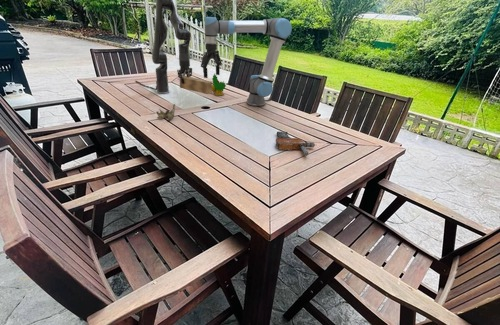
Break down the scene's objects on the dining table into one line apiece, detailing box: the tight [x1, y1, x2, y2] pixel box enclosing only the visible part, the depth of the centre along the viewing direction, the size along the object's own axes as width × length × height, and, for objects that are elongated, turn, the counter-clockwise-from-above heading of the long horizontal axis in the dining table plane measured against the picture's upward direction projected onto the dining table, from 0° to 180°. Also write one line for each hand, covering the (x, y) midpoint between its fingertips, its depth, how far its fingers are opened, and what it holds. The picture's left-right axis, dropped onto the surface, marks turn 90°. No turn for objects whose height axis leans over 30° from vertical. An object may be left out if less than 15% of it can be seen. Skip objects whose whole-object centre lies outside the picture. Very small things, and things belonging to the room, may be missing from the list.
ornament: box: [211, 72, 227, 96], centre depth 234 cm, size 21×8×15 cm, turn 42°
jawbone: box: [156, 103, 176, 122], centre depth 174 cm, size 9×15×10 cm
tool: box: [275, 131, 316, 157], centre depth 149 cm, size 4×27×30 cm
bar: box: [178, 75, 213, 95], centre depth 195 cm, size 26×6×8 cm, turn 60°
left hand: (185, 82), depth 199 cm, fingers closed on bar, 5 cm apart
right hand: (211, 76), depth 184 cm, fingers open, 13 cm apart
